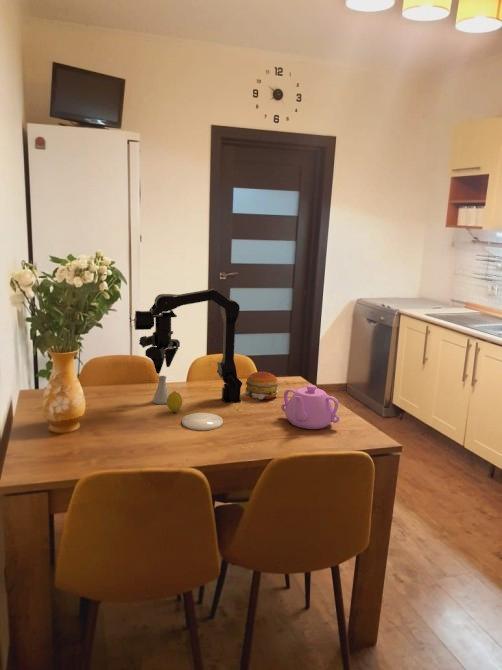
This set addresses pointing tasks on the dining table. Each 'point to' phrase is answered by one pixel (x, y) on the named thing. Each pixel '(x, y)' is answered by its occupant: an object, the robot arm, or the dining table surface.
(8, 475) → the dining table surface
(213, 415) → the plate
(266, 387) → the burger
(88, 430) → the dining table surface
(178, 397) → the lemon
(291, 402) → the teapot
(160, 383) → the flask
